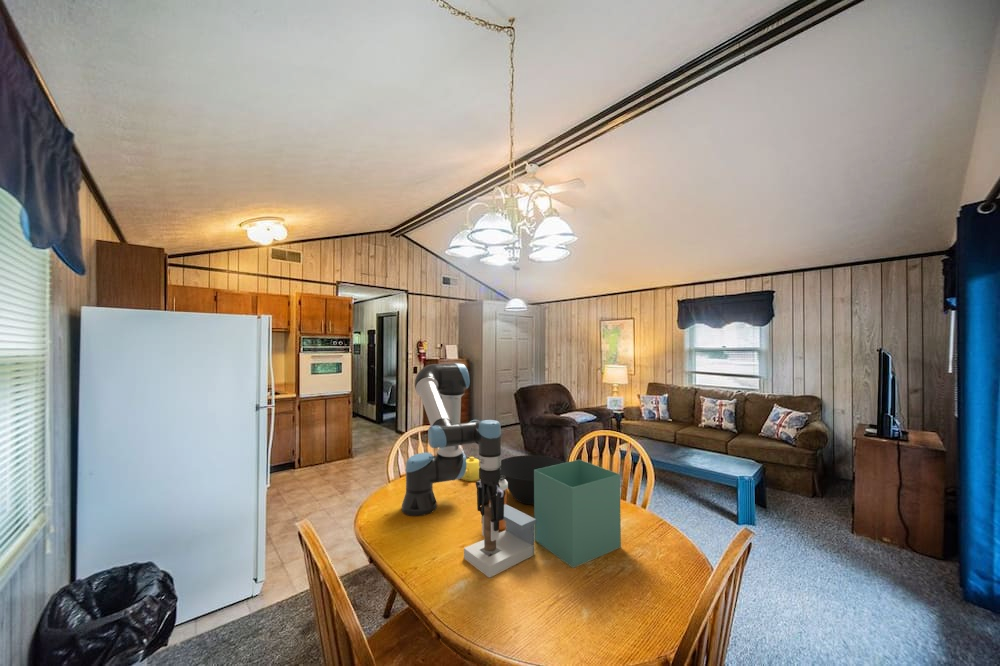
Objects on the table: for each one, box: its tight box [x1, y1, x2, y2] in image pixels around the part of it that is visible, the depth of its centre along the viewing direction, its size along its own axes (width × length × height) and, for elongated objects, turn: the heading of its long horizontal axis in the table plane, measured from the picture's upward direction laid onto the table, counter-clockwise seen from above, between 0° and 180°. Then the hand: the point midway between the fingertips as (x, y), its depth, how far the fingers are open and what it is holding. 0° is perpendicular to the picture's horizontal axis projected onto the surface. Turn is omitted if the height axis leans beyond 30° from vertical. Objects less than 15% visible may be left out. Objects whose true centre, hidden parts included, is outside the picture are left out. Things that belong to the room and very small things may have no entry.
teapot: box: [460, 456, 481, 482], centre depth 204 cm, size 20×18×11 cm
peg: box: [483, 504, 496, 551], centre depth 127 cm, size 4×4×14 cm
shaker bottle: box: [489, 475, 508, 531], centre depth 151 cm, size 9×9×20 cm
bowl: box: [500, 454, 566, 505], centre depth 178 cm, size 36×36×15 cm
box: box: [533, 459, 622, 569], centre depth 138 cm, size 23×21×26 cm
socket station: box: [463, 503, 536, 579], centre depth 130 cm, size 16×20×12 cm
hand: (490, 536), depth 127 cm, fingers closed on peg, 4 cm apart
